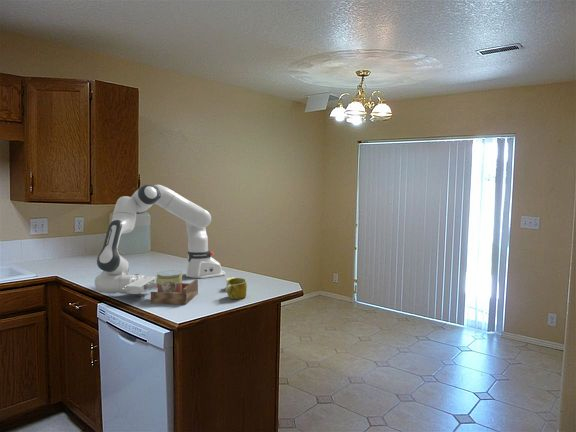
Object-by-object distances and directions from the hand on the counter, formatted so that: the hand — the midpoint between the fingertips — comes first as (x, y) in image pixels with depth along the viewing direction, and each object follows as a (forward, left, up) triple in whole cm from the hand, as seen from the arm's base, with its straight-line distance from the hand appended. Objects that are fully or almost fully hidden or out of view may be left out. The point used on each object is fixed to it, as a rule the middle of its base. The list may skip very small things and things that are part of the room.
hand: (158, 285), depth 202 cm
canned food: (-5, +3, -6) cm, 8 cm away
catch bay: (-6, +4, -6) cm, 10 cm away
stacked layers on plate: (-36, -2, -7) cm, 37 cm away
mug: (-32, +15, -6) cm, 36 cm away
